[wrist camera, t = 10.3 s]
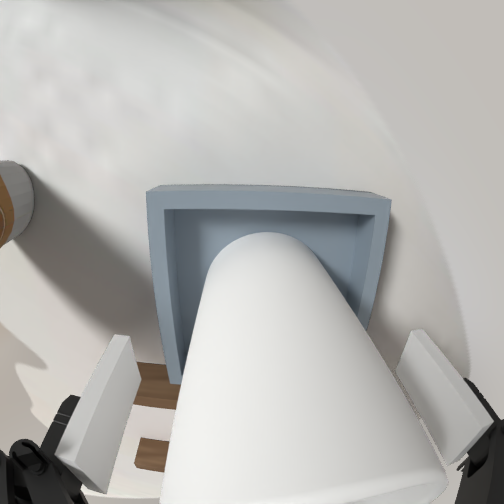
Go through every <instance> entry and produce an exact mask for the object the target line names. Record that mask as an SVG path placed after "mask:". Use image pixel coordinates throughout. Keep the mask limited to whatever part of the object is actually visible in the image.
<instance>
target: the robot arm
mask: <svg viewBox="0 0 504 504" xmlns="http://www.w3.org/2000/svg"><path fill="white" fill-rule="evenodd" d="M395 373H396V374H397V376H398V378H399V379H400V381H401V383H402V384H403V386H404V388H405V389H406V391H407V393H408V395H409V396H410V398H411V400H412V402H413V403H414V405H415V407H416V409H417V410H418V412H419V414H420V416H421V418H422V419H423V421H424V423H425V424H426V427H427V429H428V430H429V432H430V434H431V436H432V438H433V440H434V442H435V444H436V445H437V447H438V449H439V451H440V453H441V455H442V457H443V459H444V461H445V463H446V465H447V466H449V465H451V464H452V463H454V462H457V461H459V460H460V459H461V458H462V457H463V456H464V455H465V454H466V453H468V455H469V457H468V458H466V460H465V461H463V462H462V463H461V464H460V465H459V466H458V468H457V471H459V470H460V469H461V468H462V467H463V466H464V465H465V466H464V468H463V469H462V470H461V471H462V472H463V475H462V479H461V483H460V487H459V490H458V494H457V497H456V501H455V504H504V419H503V420H500V418H499V417H498V416H497V415H496V413H495V412H494V410H493V409H492V408H491V406H490V405H489V403H488V402H487V401H486V399H484V398H483V395H482V394H481V393H479V390H478V389H477V387H476V386H475V385H474V384H473V383H472V382H471V381H469V380H468V379H467V378H462V377H461V375H460V374H459V373H458V372H457V370H456V369H455V368H454V367H453V365H452V364H451V363H450V361H449V360H448V359H447V358H446V357H445V355H444V354H443V353H442V352H441V350H440V349H439V348H438V347H437V346H436V344H435V343H434V342H433V341H432V340H431V338H430V337H429V336H428V335H427V334H426V332H425V331H424V330H423V329H419V330H412V331H411V332H410V335H409V338H408V340H407V343H406V345H405V348H404V351H403V353H402V356H401V358H400V361H399V363H398V365H397V368H396V370H395ZM140 382H141V376H140V373H139V369H138V366H137V362H136V359H135V355H134V351H133V348H132V344H131V340H130V336H125V335H116V334H114V336H113V338H112V339H111V341H110V343H109V345H108V347H107V348H106V350H105V352H104V354H103V356H102V357H101V359H100V361H99V363H98V365H97V367H96V369H95V370H94V372H93V374H92V376H91V378H90V380H89V382H88V384H87V386H86V388H85V390H84V392H83V394H82V396H81V397H78V396H74V395H70V396H69V397H68V398H67V399H66V400H65V401H63V402H62V404H61V406H60V408H59V410H58V412H57V414H56V416H55V418H54V422H52V424H51V426H50V428H49V430H48V432H47V434H46V436H45V438H44V440H43V442H42V445H41V447H40V448H39V447H38V445H37V444H35V443H34V442H33V441H31V440H28V439H21V440H18V441H16V442H15V443H14V444H13V445H12V446H11V448H10V451H9V456H7V455H5V453H4V452H3V451H1V450H0V504H88V502H87V500H86V498H85V496H84V494H83V492H82V491H81V490H80V489H81V486H82V483H83V484H84V485H85V486H86V487H87V488H88V489H90V490H93V491H96V492H99V493H103V494H107V490H108V486H109V483H110V479H111V475H112V471H113V468H114V464H115V461H116V457H117V454H118V450H119V447H120V444H121V440H122V437H123V434H124V430H125V427H126V424H127V421H128V418H129V415H130V412H131V409H132V405H133V402H134V399H135V396H136V394H137V391H138V388H139V385H140Z"/></svg>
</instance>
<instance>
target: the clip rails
mask: <svg viewBox="0 0 504 504" xmlns="http://www.w3.org/2000/svg"><path fill="white" fill-rule="evenodd" d="M137 366H138V369H139V373H140V376H141V382H140V385H139V388H138V391H137V394H136V396H135V399H134V402H133V404H135V405H142V406H149V407H157V408H165V409H175V410H176V407H177V402H178V397H179V392H180V388H181V385H179V384H170V381H169V376H168V371H167V366H166V365H160V364H150V363H141V362H137ZM169 443H170V442H167V441H159V440H152V439H146V438H141V439H140V443H139V446H138V450H137V454H136V458H135V462H134V464H135V466H136V467H137V468H140V469H146V470H152V471H158V472H164V471H165V466H166V460H167V454H168V448H169Z"/></svg>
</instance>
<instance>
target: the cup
mask: <svg viewBox="0 0 504 504" xmlns="http://www.w3.org/2000/svg"><path fill="white" fill-rule="evenodd" d="M447 486H448V479H447V476H446V473H445V470H444V468H443V466H442V464H441V462H440V460H439V458H438V456H437V454H436V452H435V450H434V448H433V446H432V444H431V442H430V440H429V439H428V437H427V435H426V433H425V431H424V429H423V427H422V425H421V423H420V422H419V420H418V418H417V416H416V414H415V413H414V411H413V409H412V407H411V405H410V404H409V402H408V400H407V398H406V397H405V395H404V393H403V392H402V390H401V388H400V386H399V385H398V383H397V381H396V380H395V378H394V376H393V375H392V373H391V371H390V370H389V368H388V366H387V365H386V363H385V361H384V360H383V358H382V356H381V355H380V353H379V351H378V350H377V348H376V347H375V345H374V343H373V342H372V340H371V339H370V337H369V335H368V334H367V332H366V331H365V329H364V328H363V326H362V324H361V323H360V321H359V320H358V318H357V317H356V315H355V314H354V312H353V310H352V309H351V307H350V306H349V304H348V303H347V301H346V300H345V298H344V297H343V295H342V294H341V292H340V291H339V289H338V288H337V286H336V285H335V283H334V282H333V280H332V279H331V277H330V276H329V274H328V273H327V272H326V270H325V269H324V267H323V266H322V264H321V263H320V261H319V260H318V258H317V257H316V256H315V254H314V253H313V252H312V251H311V250H310V249H309V248H308V247H307V246H306V245H305V244H304V243H302V242H301V241H299V240H297V239H295V238H293V237H291V236H288V235H285V234H281V233H275V232H260V233H253V234H249V235H246V236H243V237H241V238H239V239H237V240H235V241H233V242H231V243H230V244H229V245H227V246H226V247H225V248H224V249H222V250H221V251H220V253H219V254H218V255H217V256H216V257H215V259H214V260H213V262H212V264H211V266H210V268H209V270H208V273H207V276H206V280H205V284H204V288H203V292H202V296H201V300H200V304H199V309H198V313H197V317H196V321H195V325H194V329H193V334H192V338H191V342H190V347H189V351H188V356H187V360H186V365H185V369H184V374H183V378H182V383H181V388H180V392H179V397H178V402H177V407H176V412H175V417H174V422H173V427H172V432H171V438H170V443H169V448H168V454H167V460H166V466H165V471H164V477H163V484H162V490H161V496H160V503H159V504H430V503H431V502H433V501H434V500H435V499H436V498H437V497H439V496H440V495H441V494H442V493H443V492H444V490H445V489H446V488H447Z"/></svg>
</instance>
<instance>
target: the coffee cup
mask: <svg viewBox="0 0 504 504" xmlns="http://www.w3.org/2000/svg"><path fill="white" fill-rule="evenodd" d="M33 209H34V190H33V186H32V182H31V180H30V178H29V175H28V173H27V172H26V171H25V169H24V168H23V167H21V166H20V165H18V164H17V163H16V162H14V161H9V160H7V161H0V248H1V247H2V246H3V245H4V244H6V243H7V242H9V241H10V240H12V239H14V238H15V237H17V236H18V235H20V234H21V233H22V232H23V231H24V230H25V229H26V227H27V225H28V223H29V221H30V219H31V217H32V213H33Z"/></svg>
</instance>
